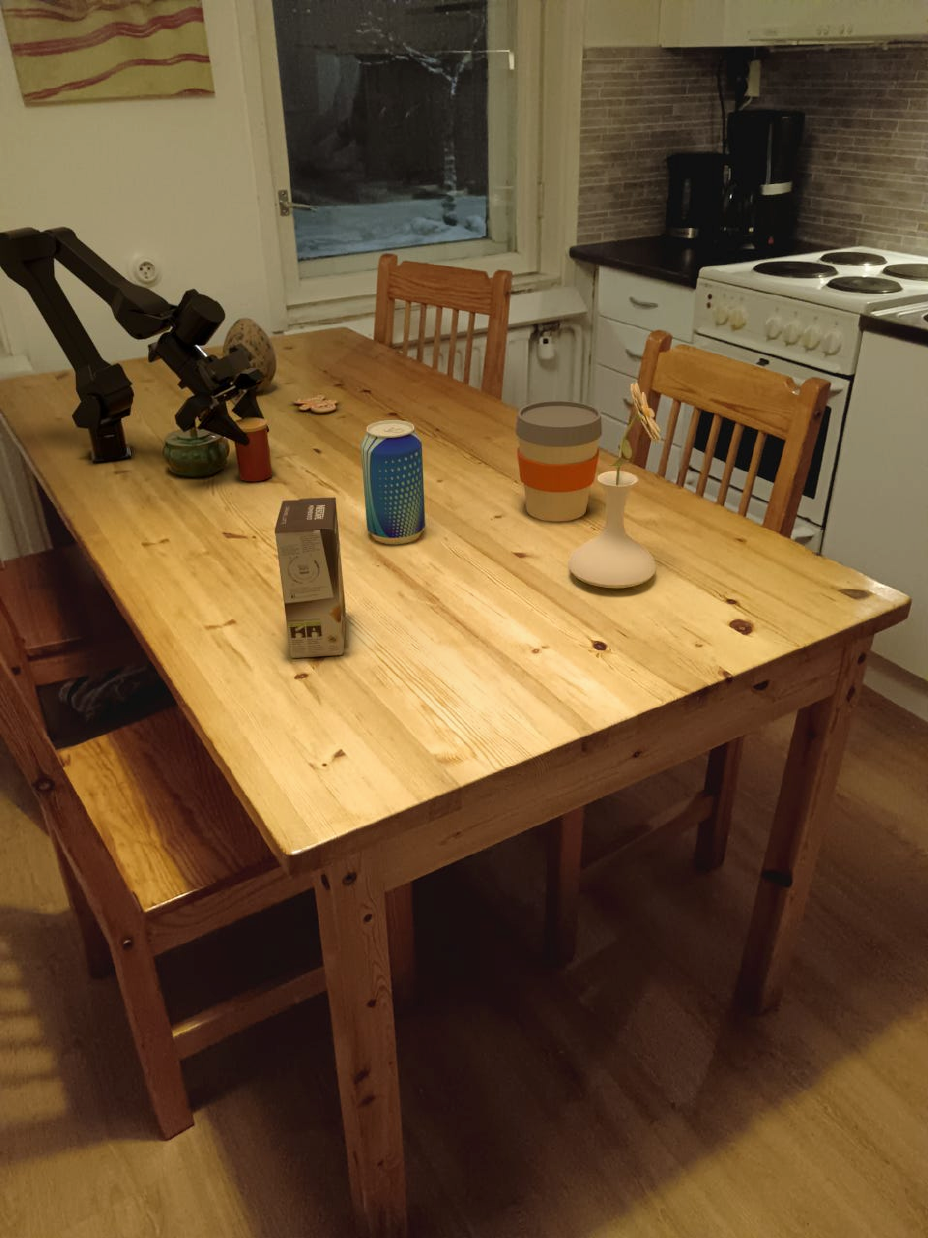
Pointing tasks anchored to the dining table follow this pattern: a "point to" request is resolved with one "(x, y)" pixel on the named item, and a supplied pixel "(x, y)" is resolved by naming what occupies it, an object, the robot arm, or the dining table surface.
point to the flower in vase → (617, 522)
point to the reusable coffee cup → (558, 457)
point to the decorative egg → (253, 347)
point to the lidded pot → (195, 452)
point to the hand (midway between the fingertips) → (257, 438)
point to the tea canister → (253, 450)
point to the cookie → (317, 404)
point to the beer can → (393, 481)
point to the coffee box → (311, 576)
